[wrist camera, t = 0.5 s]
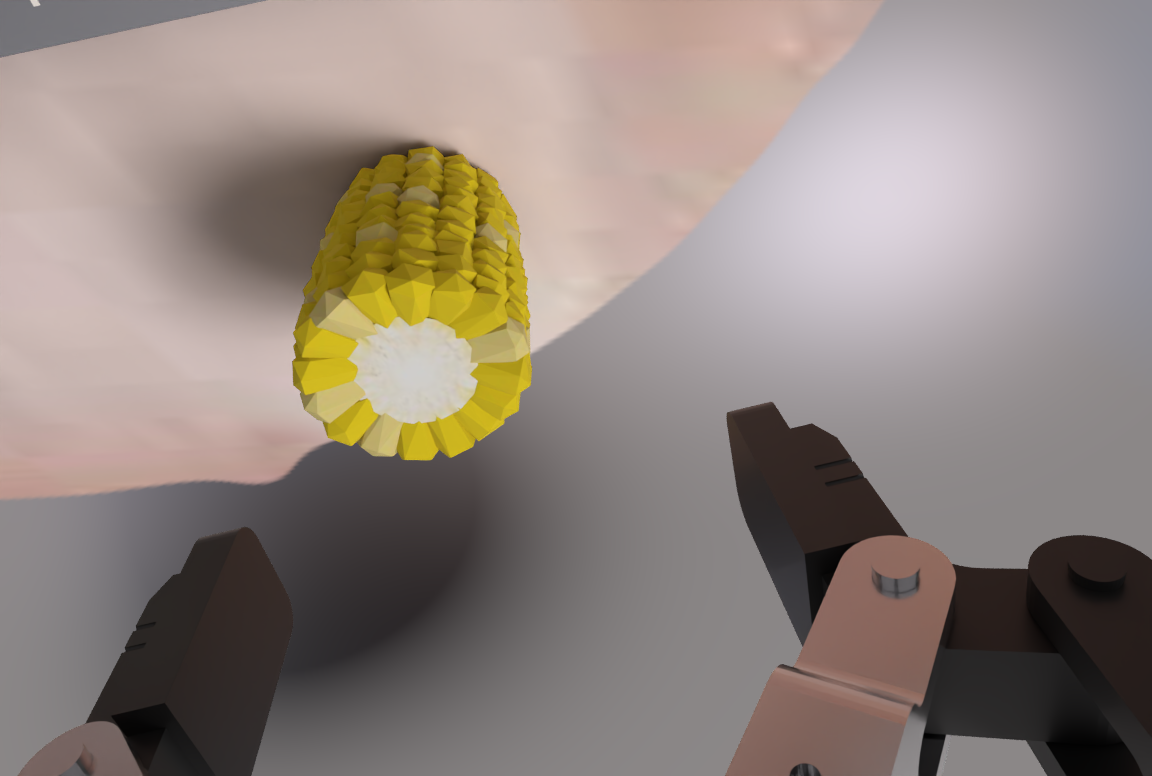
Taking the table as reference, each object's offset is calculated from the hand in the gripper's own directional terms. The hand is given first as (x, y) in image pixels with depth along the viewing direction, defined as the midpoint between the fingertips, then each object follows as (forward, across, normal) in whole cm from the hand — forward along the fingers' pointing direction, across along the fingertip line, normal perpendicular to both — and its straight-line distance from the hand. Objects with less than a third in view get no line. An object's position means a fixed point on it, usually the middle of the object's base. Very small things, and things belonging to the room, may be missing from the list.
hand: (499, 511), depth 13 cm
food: (+31, +5, +3) cm, 31 cm away
